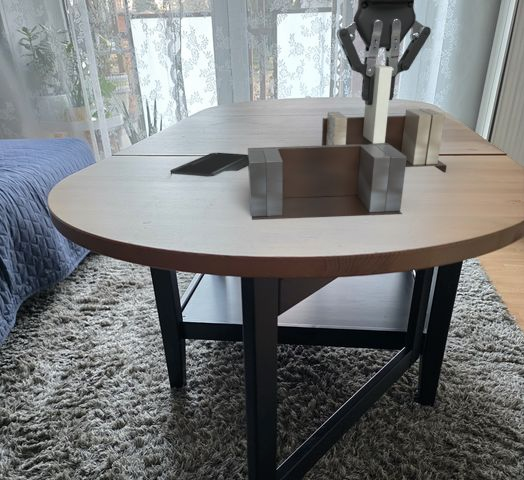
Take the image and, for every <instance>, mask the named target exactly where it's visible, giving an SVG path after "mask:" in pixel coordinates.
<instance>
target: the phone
mask: <svg viewBox="0 0 524 480" xmlns="http://www.w3.org/2000/svg"><path fill="white" fill-rule="evenodd" d="M246 166H248V153H247V154H245V153H229V152H211V153H208V154H206V155H203V156H201V157H199V158H195V159H194V160H191V161H189V162H187V163H183V164H182V165H179V166H177V167H174V168H172V169H170V171H169V172H170V176H172V175H180V176H181V175H183V176H184V175H185V176H195V177H207V178H209V177H215V176H218V175H221V174H222V173H224V172H237V171H239V170H240V169H242V168H244V167H246Z"/></svg>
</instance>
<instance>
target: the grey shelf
mask: <svg viewBox="0 0 524 480" xmlns="http://www.w3.org/2000/svg"><path fill="white" fill-rule="evenodd" d="M247 155H248V165H247V167H248V168H247V169H248V192H249V193H248V196H249V206H250V216H251V220H252V221H260V220H262V221H263V220H288V219H313V218H314V219H315V218H338V217H339V218H340V217H342V218H343V217H364V216H389V215H390V216H391V215H394V216H395V215H403V213H402V212H401V208H402V200H403V199H402V198H403V191H404V183H405V174H406V168H407V167H406V159H407V157H406V156H405V155H404V154H402V153H401V152H399V151H398V150H396V149H395V148H394V147H392V146H391V145H389V144H388V143H382V144H352V145H323V146H322V145H298V146H269V147H268V146H267V147H266V146H265V147H264V146H263V147H248V148H247Z"/></svg>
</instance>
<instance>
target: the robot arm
mask: <svg viewBox="0 0 524 480" xmlns="http://www.w3.org/2000/svg"><path fill="white" fill-rule="evenodd" d="M414 5H415V0H358V4H357V9H356V12H355V14H354V15H353V20H352V22H350V23H349V24H348V25H346V26H344V27H341V28H339V29H338V30H337V31H336V37H337V39H338V41H339V44H340V46H341V48H342V50H343V53H344V56H345V57H346V60H347V62H348V64H349V66H350V69H351V71H354V72H356V73H359V74H360V75H361V76H362V77H361V78H362V82H361V83H362V84H361V100H362V101H364V105H365V104H366V105H372V103H373V92H374V81H375V77H373V74H374V71H375V65H377V59H378V56H379V49H382V48H383V49H384V58H385V59H384V62H385V63H384V66H389V67H392V77H391V86H390V96H389V101H392V100H393V98H394V94H395V84H396V77H397V76H398V74H400V73H403V72H404V71H405V72H406V71H409V69H410V68H411V66H412V65H413V63H414V62H415V59H416V58H417V56H418V55H419V53H420V51H421V50H422V48H423V47H424V45H425V43H426V42H427V40H428V38H429V36H430V35H431V32H432V30H431V28H430V27H429V26H426V25H425V26H424V25H423V24H422V23H420V22H419V21H418V20H416V19H417V16H416V15H417V14H416V12H415V7H414ZM410 30H411V32H410ZM356 31H357V33H358V35H359V37H360V38H361V40H362V42H363V44H364V50H363V51H364V52H363V62H362V60H361V59H360V56H359V53H358V50H357V49H356V46H355V44H354V41H355V40H356ZM409 32H410V34H409V38H410V42H409V44H408V45H407V47H406V49H405V51H404V52H403V54H402V56H401V57H400V47H401V46H400V45H401V42H402V41H403V40H404V38H405V37H406V36H407V35H408V33H409ZM399 57H400V58H399Z"/></svg>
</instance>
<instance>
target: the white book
mask: <svg viewBox="0 0 524 480" xmlns="http://www.w3.org/2000/svg"><path fill="white" fill-rule="evenodd" d="M373 77H375V81H374V92H373V103H372V105H366V104H365V103H364V115H363V117H364V127H363V136H364V137H365V138H367V139H368V140H369V141H371V142H372V143H373V144H374V143H385V135H386V125H387V116H389V114H388V113H389V105H390V100H389V96H390V86H391V77H392V67H389V66H385V64H384V65H383V64H376V65H375V71H374V74H373Z"/></svg>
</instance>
